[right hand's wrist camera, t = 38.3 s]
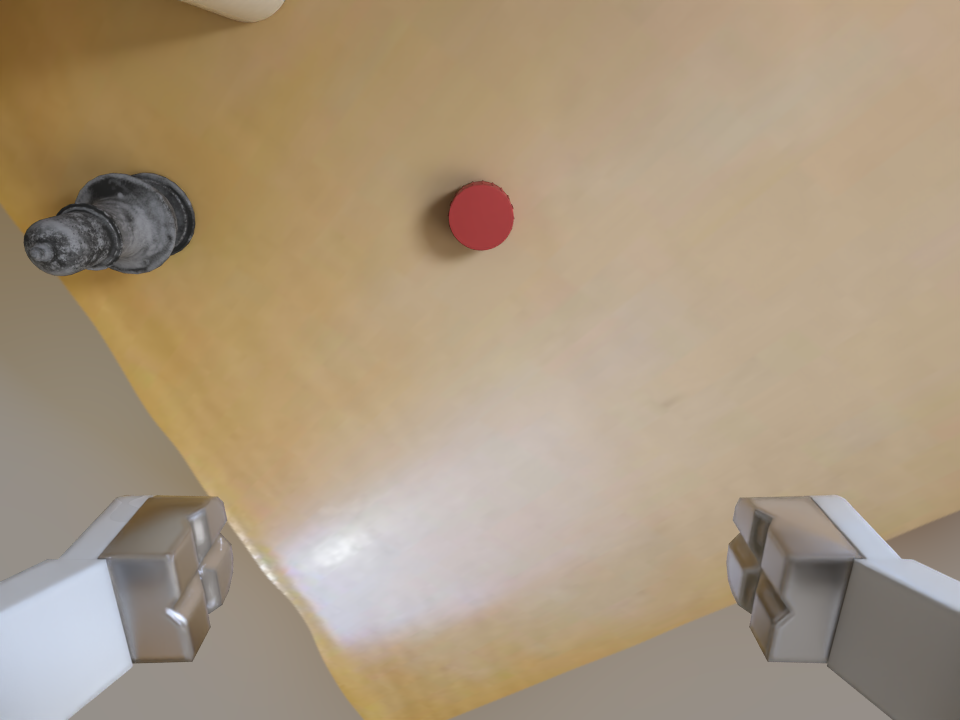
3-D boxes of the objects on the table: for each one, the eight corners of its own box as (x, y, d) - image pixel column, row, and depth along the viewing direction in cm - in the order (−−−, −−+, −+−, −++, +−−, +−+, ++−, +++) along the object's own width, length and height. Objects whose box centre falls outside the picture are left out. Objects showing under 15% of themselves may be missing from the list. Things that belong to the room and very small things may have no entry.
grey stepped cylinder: (168, 279, 43) (57, 339, 32) (89, 219, 41) (-57, 260, 30) (217, 211, 41) (119, 250, 30) (137, 147, 40) (2, 162, 29)
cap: (522, 229, 42) (524, 234, 40) (465, 254, 42) (464, 261, 40) (497, 169, 40) (498, 172, 38) (438, 196, 41) (436, 201, 39)
